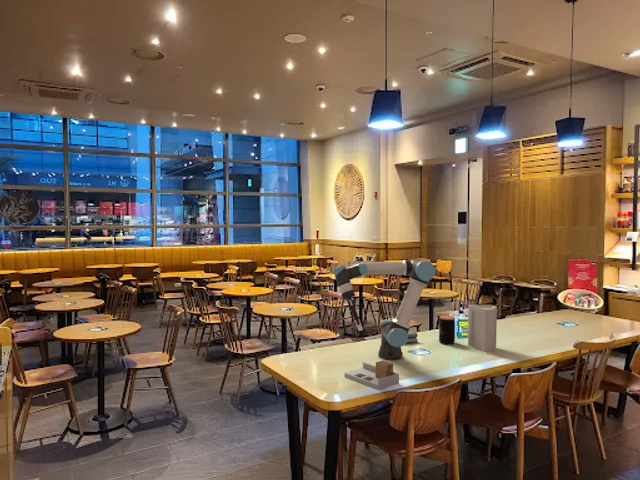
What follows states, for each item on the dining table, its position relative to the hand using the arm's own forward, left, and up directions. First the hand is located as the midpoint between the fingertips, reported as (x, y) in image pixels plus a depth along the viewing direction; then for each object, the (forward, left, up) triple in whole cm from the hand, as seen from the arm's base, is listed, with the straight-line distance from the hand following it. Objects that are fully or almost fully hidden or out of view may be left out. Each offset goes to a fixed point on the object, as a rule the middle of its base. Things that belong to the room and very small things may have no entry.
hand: (360, 330), depth 266 cm
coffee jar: (-87, -3, -22) cm, 90 cm away
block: (+6, +24, -20) cm, 32 cm away
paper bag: (-95, +22, -22) cm, 100 cm away
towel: (-67, -27, -22) cm, 76 cm away
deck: (+10, +18, -22) cm, 30 cm away
